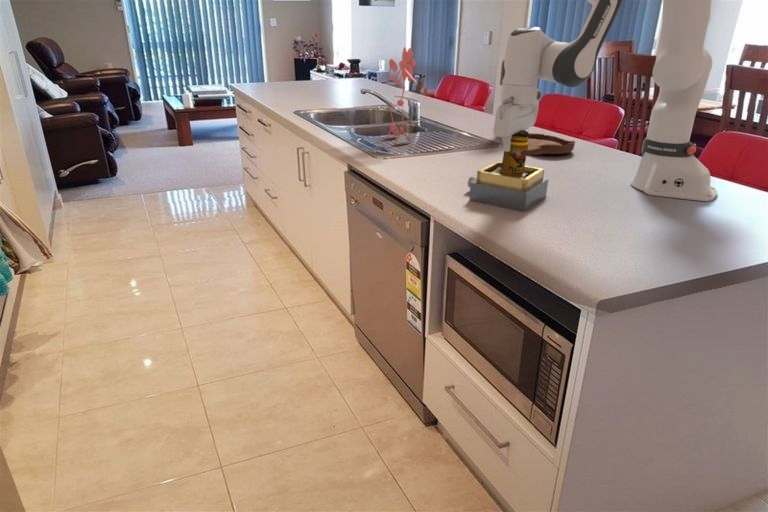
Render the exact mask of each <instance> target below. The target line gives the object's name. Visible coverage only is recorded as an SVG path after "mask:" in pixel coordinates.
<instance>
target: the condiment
mask: <svg viewBox="0 0 768 512" xmlns="http://www.w3.org/2000/svg"><path fill="white" fill-rule="evenodd" d="M528 135H529V131H528V132H527V131H524V130H522V131H520V132H518V133H515V134H513V135H512V139H511V144H512V150H511V151H509V152H506V151H503V155H502V161H501V162H502V167H501V168H500V167H498V168H497V169H496V170H494V171H493V172H491V173H496V174H502V175H508V176H513V177H519V178H523V177H524V176H525V175H526V174H527V173H523V172H524V167H525V166H526V159H527V155H528V154H527V149H528V142H527V141H528Z"/></svg>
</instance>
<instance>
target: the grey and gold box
mask: <svg viewBox="0 0 768 512" xmlns="http://www.w3.org/2000/svg"><path fill="white" fill-rule="evenodd" d="M498 167H500V168H501V167H502V161H498V160H497V161H495V162H492V163H491V164H489V165H487V166H485V167H483V168H481V169H479V170H477V172H476V177H474V176H469V178H468V180H467V187H468V188H469V198H468V199H469V201H472V202H477V203H480V204H481V203H482V204H487V205H490V206H495V207H500V208H505V209H510V210H515V211H519V212H527V210H529V209H530V208H532V207H533V206H534V205H536V204H537V203H538V202H540V201H541V200H543V199H544V198H546V197H547V192H548V185H549V178H546V177H544V174H545V168H542V167H535V166H530V165H529V166H528V165H525V167H524V172H523V173H527V174H526V175H525V176H524V177H523V178H519V177H513V176H508V175H502V174H496V173H491V172H493V171H494V170H496V169H497V168H498Z"/></svg>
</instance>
